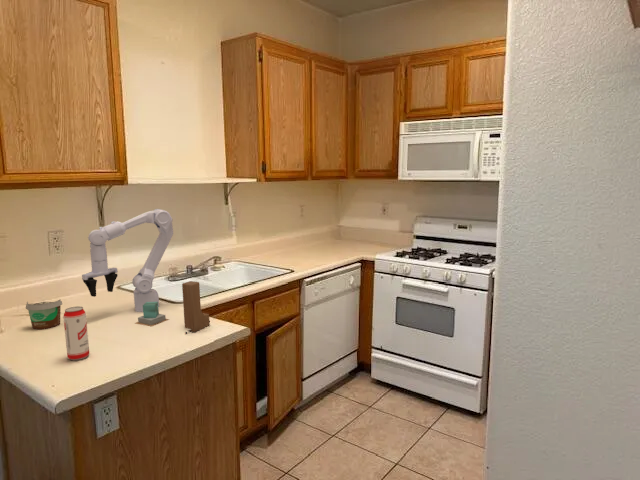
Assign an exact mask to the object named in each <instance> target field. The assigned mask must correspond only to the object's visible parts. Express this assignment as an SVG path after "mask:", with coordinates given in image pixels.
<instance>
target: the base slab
mask: <svg viewBox="0 0 640 480" xmlns="http://www.w3.org/2000/svg"><path fill="white" fill-rule="evenodd" d="M169 320H170V319H168V318H166V320H164V321H161V322H159V323H156V324H153V325H147V324H143V323H138V321H137V322H134V324H136V325H141V326H142V325H143V326H146V327H154V326H156V325H159V324H162V323H165V322H167V321H169Z"/></svg>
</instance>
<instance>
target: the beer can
mask: <svg viewBox="0 0 640 480" xmlns="http://www.w3.org/2000/svg"><path fill="white" fill-rule="evenodd" d="M63 326H64V337H65V346H66V347H65V348H66V356H67V359H69V360H70V361H73V362H74V361H75V362H76V361H82V360H84V359H86V358H87V357H88V356H89V355H90V346H89V345H90V343H89V335H88V325H87V315H86V311H85V309H84V307H83V306H73V307H72V306H70V307H67V308H65V309H64V312H63Z"/></svg>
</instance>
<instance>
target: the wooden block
mask: <svg viewBox="0 0 640 480" xmlns="http://www.w3.org/2000/svg"><path fill="white" fill-rule="evenodd" d="M181 287H182V289H181V290H182V304H183V306H182V307H183V319H184V320H183V322H184V329H188V330H187V332H191V333H196V332H198V331H200V330H203V329H205V328H206V327H208V326H210V324H211V323H210V314H209V313H205V312H202V307H201V306H202V305H201V291H200V290H201V289H200V287H201V286H200V282H199V281H192V280H191V281H190V280H189V281H187V282H183V283H182V285H181Z"/></svg>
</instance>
